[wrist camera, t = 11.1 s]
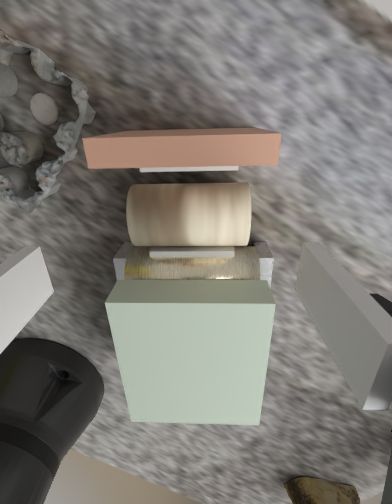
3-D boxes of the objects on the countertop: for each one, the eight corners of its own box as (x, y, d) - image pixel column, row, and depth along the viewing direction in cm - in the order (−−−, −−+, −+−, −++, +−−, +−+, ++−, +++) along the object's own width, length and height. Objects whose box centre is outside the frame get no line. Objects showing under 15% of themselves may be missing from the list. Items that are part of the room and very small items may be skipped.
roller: (145, 224, 25) (134, 258, 21) (136, 174, 22) (121, 203, 18) (241, 223, 25) (247, 258, 21) (245, 172, 22) (253, 201, 18)
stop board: (130, 150, 22) (88, 168, 14) (127, 130, 21) (82, 138, 14) (253, 148, 21) (277, 165, 14) (254, 127, 21) (281, 133, 13)
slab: (138, 392, 28) (131, 421, 25) (117, 279, 22) (104, 302, 19) (254, 395, 27) (259, 425, 25) (267, 279, 21) (275, 303, 18)
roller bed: (141, 354, 32) (131, 392, 28) (122, 238, 25) (104, 263, 21) (254, 356, 32) (261, 395, 27) (266, 237, 25) (279, 263, 20)
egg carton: (22, 27, 19) (-23, 5, 15) (113, 105, 21) (92, 102, 17) (-28, 151, 23) (-73, 157, 19) (52, 207, 25) (25, 222, 21)
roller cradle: (157, 242, 25) (150, 260, 22) (148, 154, 22) (138, 160, 19) (230, 242, 25) (234, 259, 22) (234, 152, 22) (238, 158, 18)
